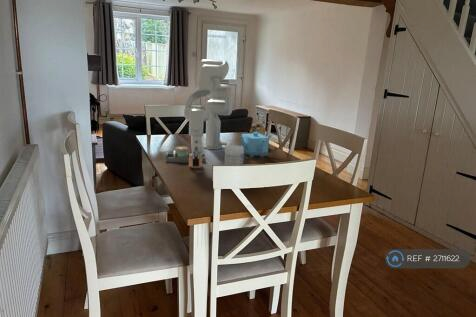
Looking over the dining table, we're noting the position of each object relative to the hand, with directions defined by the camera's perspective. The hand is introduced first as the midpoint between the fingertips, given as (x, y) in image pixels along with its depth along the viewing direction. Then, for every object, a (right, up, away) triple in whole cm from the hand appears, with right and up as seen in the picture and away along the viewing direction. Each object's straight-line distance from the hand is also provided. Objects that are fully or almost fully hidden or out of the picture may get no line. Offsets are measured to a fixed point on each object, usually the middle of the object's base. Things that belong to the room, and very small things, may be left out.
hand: (195, 163), depth 192 cm
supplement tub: (+21, -6, -9) cm, 23 cm away
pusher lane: (-7, +1, +11) cm, 13 cm away
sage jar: (-9, +2, +11) cm, 14 cm away
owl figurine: (+36, +11, +56) cm, 67 cm away
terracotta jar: (0, -2, +1) cm, 2 cm away
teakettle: (+34, +4, +31) cm, 46 cm away
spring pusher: (-13, +2, +10) cm, 17 cm away
